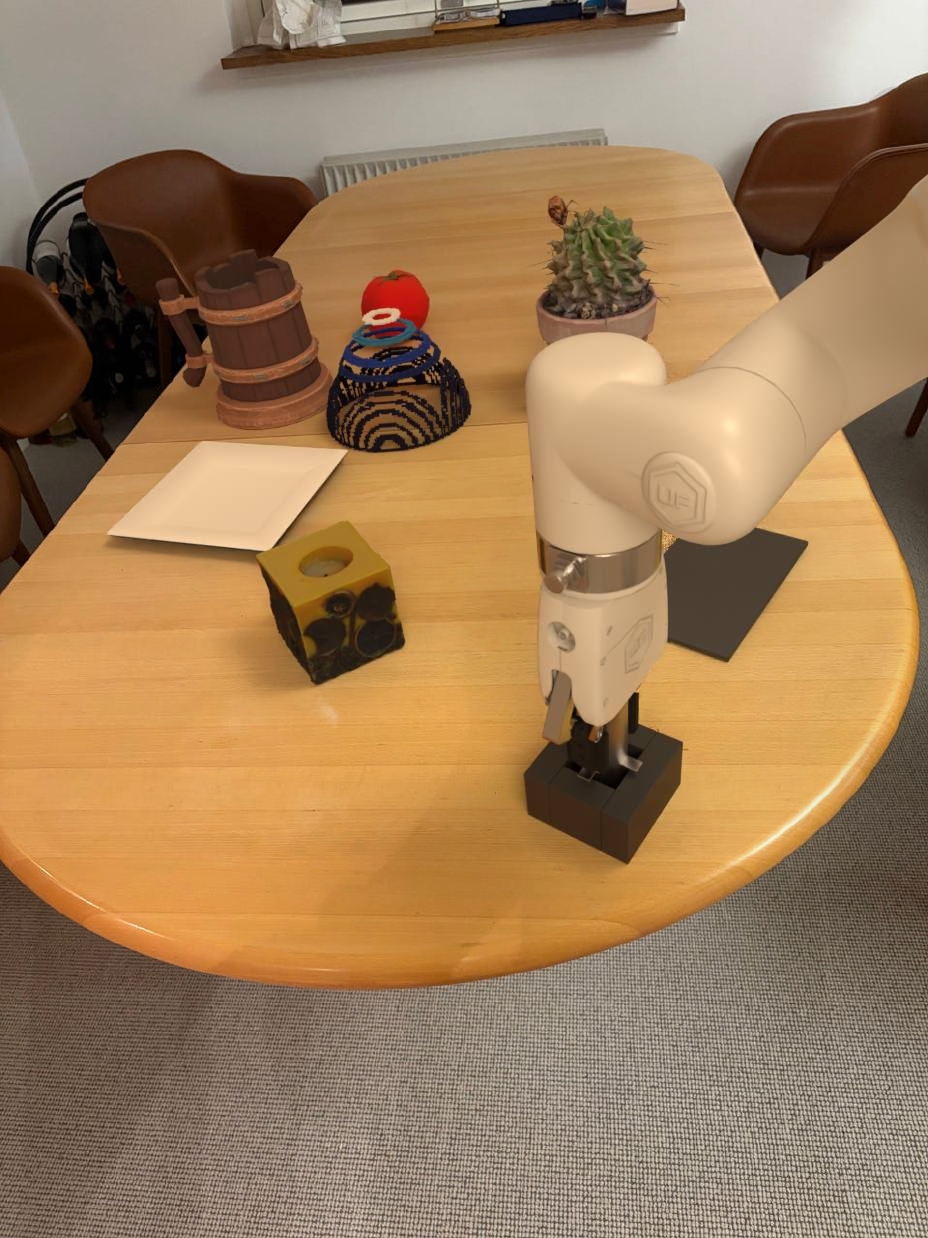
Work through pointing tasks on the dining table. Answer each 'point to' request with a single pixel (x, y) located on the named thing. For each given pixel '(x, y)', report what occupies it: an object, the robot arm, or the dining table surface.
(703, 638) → the mat
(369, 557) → the candle
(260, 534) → the plate
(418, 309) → the tomato
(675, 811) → the dining table surface
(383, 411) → the decorative bowl
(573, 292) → the potted plant
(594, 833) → the dark square ring block
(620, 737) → the bronze metal rod
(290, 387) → the mug
